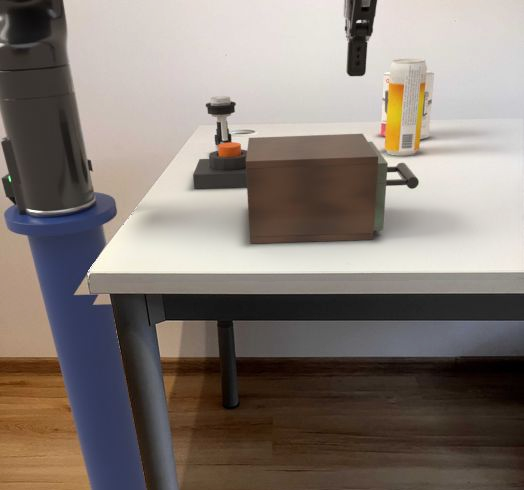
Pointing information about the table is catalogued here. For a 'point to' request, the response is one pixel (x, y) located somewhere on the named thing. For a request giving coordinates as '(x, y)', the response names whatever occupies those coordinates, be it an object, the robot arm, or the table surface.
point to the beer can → (405, 106)
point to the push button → (221, 117)
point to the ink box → (425, 106)
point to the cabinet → (311, 188)
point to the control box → (221, 171)
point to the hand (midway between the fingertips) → (355, 75)
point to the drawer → (389, 184)
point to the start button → (229, 149)
